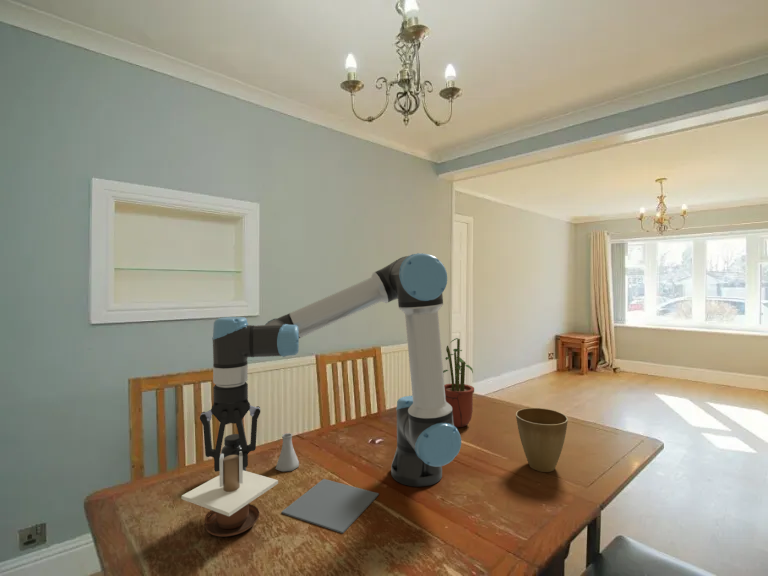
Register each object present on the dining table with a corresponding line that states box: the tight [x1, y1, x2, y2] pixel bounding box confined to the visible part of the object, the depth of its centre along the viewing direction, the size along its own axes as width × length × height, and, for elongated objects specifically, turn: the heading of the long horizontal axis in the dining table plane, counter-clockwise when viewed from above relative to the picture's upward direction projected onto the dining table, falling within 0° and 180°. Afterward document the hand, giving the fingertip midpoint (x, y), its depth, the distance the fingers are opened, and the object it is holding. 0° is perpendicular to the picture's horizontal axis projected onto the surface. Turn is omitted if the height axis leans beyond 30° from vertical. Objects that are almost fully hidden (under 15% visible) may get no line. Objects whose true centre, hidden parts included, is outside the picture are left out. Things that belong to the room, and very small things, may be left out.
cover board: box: [181, 455, 279, 516], centre depth 92 cm, size 15×15×8 cm
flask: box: [275, 432, 300, 472], centre depth 122 cm, size 7×7×10 cm
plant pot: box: [515, 407, 569, 473], centre depth 121 cm, size 15×15×16 cm
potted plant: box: [443, 337, 475, 428], centre depth 158 cm, size 17×16×35 cm
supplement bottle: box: [220, 433, 247, 471], centre depth 115 cm, size 7×7×12 cm
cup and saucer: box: [204, 503, 260, 538], centre depth 93 cm, size 12×12×6 cm
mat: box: [281, 478, 380, 534], centre depth 101 cm, size 18×18×1 cm
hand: (231, 482), depth 92 cm, fingers closed on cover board, 3 cm apart
